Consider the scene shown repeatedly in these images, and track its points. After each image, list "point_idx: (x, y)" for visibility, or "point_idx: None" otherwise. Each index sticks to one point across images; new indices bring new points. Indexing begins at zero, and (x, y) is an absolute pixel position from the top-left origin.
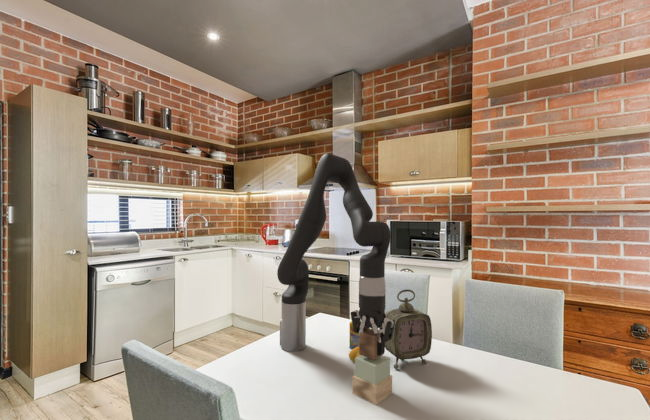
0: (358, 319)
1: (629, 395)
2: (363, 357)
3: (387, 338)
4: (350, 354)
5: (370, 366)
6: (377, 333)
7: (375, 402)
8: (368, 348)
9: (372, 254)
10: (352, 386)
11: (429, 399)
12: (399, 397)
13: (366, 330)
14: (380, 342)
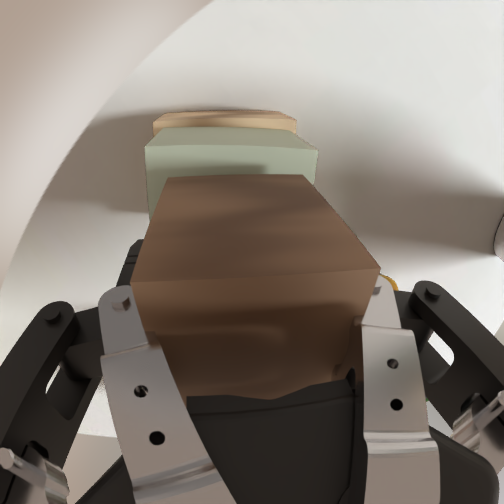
0: (454, 404)
1: None
2: None
3: (24, 335)
4: (393, 287)
5: (185, 143)
6: (111, 354)
7: (168, 113)
8: (221, 202)
9: None
10: (284, 114)
11: (81, 261)
12: (138, 208)
13: (335, 358)
14: (111, 290)
